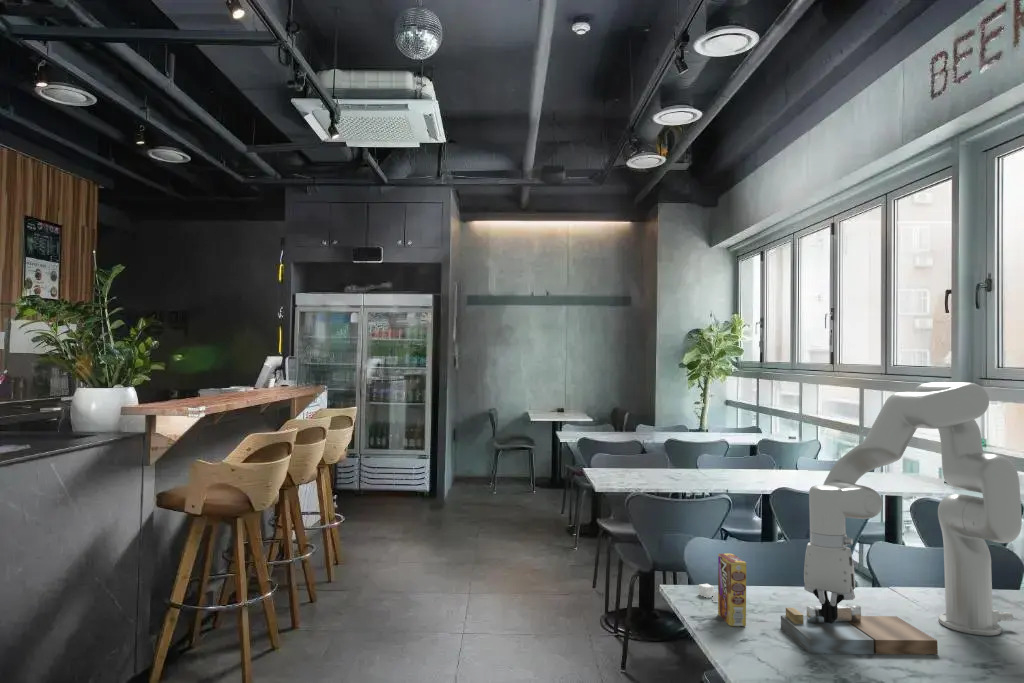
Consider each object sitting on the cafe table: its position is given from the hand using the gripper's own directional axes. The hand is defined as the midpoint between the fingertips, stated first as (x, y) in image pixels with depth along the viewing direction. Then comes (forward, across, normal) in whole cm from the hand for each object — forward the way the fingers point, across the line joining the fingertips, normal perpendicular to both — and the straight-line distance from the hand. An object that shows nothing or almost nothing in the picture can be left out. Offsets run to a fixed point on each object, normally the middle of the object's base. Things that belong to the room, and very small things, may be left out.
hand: (829, 621), depth 151 cm
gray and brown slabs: (+4, -4, -4) cm, 7 cm away
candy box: (+4, +22, +4) cm, 22 cm away
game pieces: (+5, +31, -8) cm, 33 cm away
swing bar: (+1, 0, -4) cm, 4 cm away
